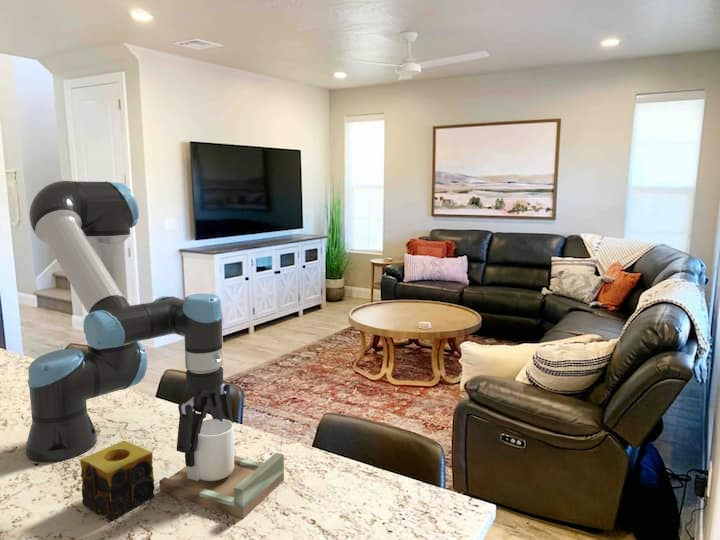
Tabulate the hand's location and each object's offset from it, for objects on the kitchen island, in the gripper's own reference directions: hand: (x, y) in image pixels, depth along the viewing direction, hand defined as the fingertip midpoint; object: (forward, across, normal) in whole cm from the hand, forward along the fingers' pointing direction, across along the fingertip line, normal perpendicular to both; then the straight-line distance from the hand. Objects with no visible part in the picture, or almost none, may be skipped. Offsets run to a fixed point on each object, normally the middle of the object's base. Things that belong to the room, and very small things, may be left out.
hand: (207, 468), depth 113 cm
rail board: (+3, 0, -4) cm, 5 cm away
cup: (0, 0, 0) cm, 1 cm away
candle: (+4, -13, +12) cm, 18 cm away
